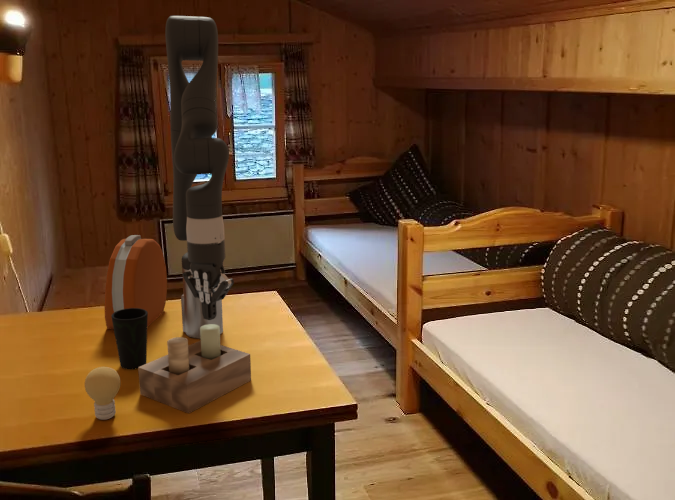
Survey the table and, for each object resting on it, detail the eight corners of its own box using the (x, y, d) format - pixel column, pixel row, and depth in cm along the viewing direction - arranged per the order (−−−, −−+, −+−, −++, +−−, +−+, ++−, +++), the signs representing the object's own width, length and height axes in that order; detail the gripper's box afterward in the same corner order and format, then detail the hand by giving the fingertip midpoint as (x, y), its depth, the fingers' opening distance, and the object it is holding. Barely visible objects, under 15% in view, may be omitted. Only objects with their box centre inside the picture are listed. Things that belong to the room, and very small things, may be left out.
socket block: (140, 394, 144) (138, 367, 142) (204, 364, 158) (202, 339, 157) (188, 413, 136) (186, 384, 135) (251, 380, 151) (250, 354, 149)
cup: (157, 360, 161) (154, 310, 158) (138, 373, 154) (134, 321, 151) (129, 355, 163) (125, 306, 160) (108, 368, 156) (103, 317, 153)
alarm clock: (135, 305, 197) (129, 225, 191) (169, 306, 195) (164, 227, 190) (99, 334, 176) (91, 246, 170) (136, 336, 174) (130, 247, 168)
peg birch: (165, 373, 142) (162, 341, 140) (179, 366, 145) (178, 335, 143) (178, 378, 140) (176, 346, 138) (193, 371, 143) (192, 340, 141)
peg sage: (197, 358, 149) (196, 328, 147) (211, 352, 152) (209, 322, 150) (211, 363, 147) (209, 332, 145) (224, 356, 150) (223, 326, 148)
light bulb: (92, 409, 138) (88, 361, 135) (126, 408, 138) (122, 360, 136) (84, 425, 132) (79, 376, 129) (119, 424, 132) (115, 375, 130)
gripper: (169, 237, 144) (174, 317, 148) (216, 246, 136) (220, 330, 141) (196, 230, 150) (200, 308, 154) (242, 238, 142) (245, 319, 146)
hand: (209, 318), depth 147 cm, fingers closed
